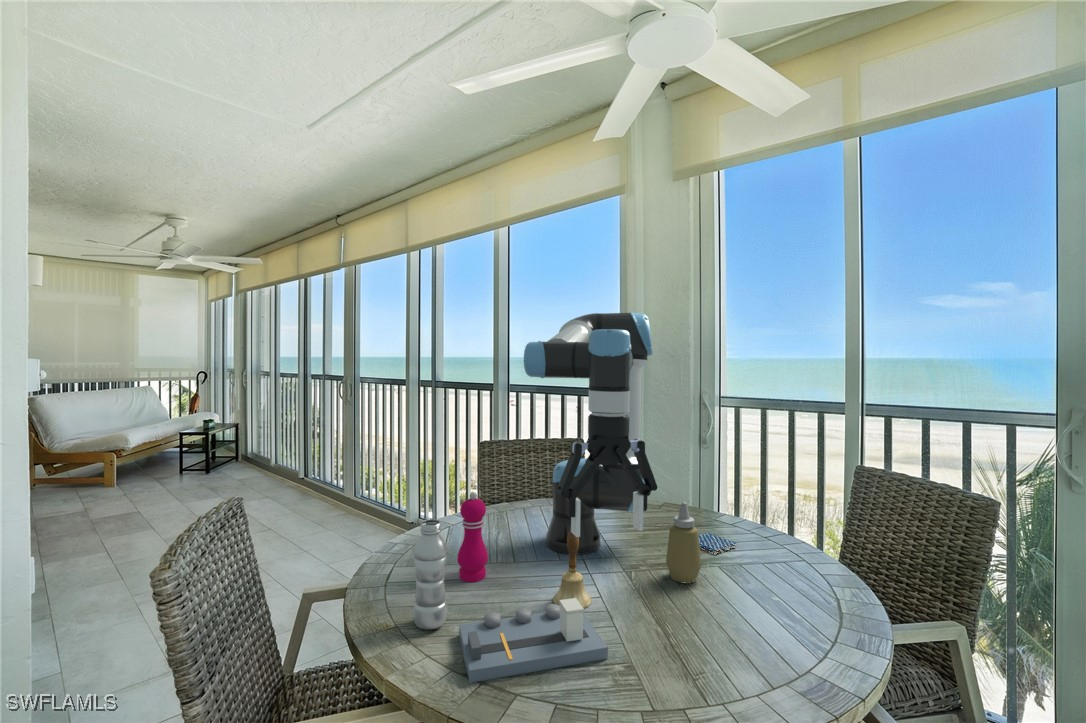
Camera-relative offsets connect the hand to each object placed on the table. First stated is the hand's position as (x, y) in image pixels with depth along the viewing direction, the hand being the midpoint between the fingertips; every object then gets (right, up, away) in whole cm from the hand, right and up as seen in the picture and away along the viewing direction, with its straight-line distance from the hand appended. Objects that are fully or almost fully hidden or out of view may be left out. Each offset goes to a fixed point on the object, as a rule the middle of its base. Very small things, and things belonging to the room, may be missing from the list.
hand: (607, 531), depth 91 cm
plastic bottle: (-34, -20, +5) cm, 40 cm away
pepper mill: (-29, -20, +26) cm, 44 cm away
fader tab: (-7, -18, -2) cm, 19 cm away
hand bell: (-6, -20, +15) cm, 26 cm away
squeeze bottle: (+21, -20, +26) cm, 40 cm away
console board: (-14, -20, -2) cm, 25 cm away
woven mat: (+35, -21, +47) cm, 62 cm away
